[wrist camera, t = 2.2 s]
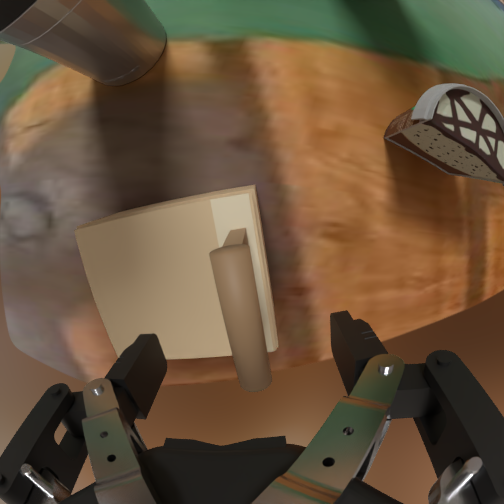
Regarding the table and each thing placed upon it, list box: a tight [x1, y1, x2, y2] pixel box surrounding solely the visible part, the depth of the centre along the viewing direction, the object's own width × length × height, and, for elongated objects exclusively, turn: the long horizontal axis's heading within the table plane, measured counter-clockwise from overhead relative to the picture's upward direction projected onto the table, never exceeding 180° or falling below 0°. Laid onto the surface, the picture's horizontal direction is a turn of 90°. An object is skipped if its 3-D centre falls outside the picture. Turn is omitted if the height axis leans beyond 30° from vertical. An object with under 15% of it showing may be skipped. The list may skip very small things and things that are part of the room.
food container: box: [384, 84, 504, 186], centre depth 18 cm, size 12×6×10 cm, turn 73°
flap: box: [74, 192, 276, 392], centre depth 16 cm, size 12×14×7 cm
